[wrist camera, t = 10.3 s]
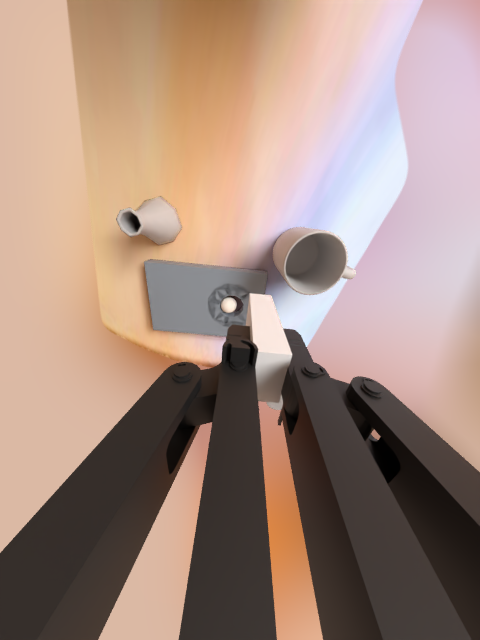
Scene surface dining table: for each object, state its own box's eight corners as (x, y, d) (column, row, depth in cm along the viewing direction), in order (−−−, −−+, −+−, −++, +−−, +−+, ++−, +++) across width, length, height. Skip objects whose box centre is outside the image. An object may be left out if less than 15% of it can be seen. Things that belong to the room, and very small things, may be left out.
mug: (265, 269, 36) (273, 287, 27) (282, 220, 33) (298, 220, 23) (323, 285, 38) (351, 308, 28) (346, 240, 34) (387, 249, 24)
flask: (161, 187, 31) (127, 173, 22) (189, 229, 34) (170, 232, 25) (130, 214, 33) (87, 212, 24) (159, 252, 35) (130, 263, 27)
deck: (150, 259, 36) (144, 261, 34) (266, 270, 37) (267, 274, 34) (158, 324, 42) (153, 329, 40) (256, 333, 43) (257, 339, 41)
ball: (219, 294, 38) (221, 300, 36) (235, 294, 39) (238, 300, 36) (219, 309, 40) (221, 316, 37) (234, 308, 41) (237, 315, 38)
